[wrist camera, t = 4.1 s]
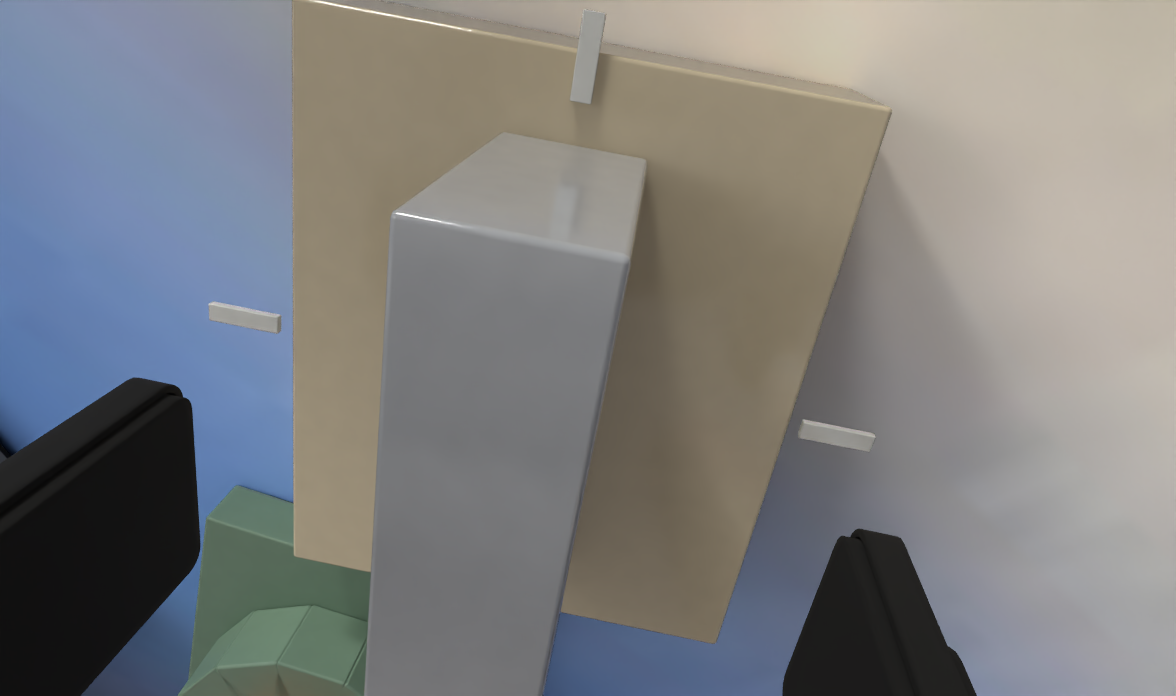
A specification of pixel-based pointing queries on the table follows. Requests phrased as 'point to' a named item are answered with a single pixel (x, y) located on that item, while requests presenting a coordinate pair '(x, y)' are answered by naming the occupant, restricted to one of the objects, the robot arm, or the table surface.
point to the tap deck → (653, 294)
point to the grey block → (492, 409)
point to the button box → (273, 609)
